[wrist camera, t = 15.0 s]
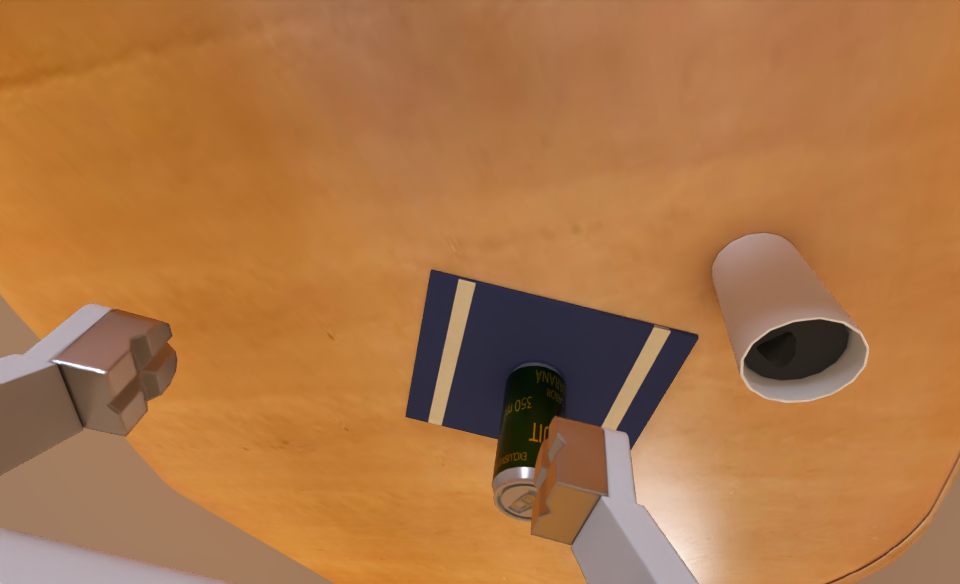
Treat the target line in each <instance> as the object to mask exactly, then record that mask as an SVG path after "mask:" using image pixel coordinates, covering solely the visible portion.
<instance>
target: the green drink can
mask: <svg viewBox="0 0 960 584" xmlns="http://www.w3.org/2000/svg"><path fill="white" fill-rule="evenodd" d="M555 416H557V417H562V418H566V383H565V382H564V380H563V378H562V376H561V375H560V373H559V372H558V371H557V370H556V369H555V368H553V367H551V366H549V365H547V364H544V363H539V362H529V363H525V364H522V365H520V366H518V367H517V368H515V369H514V370H513V372H512V373H511V374H510V375H509V377H508V378H507V381H506V384H505V391H504V399H503V406H502V414H501V421H500V428H499V436H498V443H497V451H496V458H495V465H494V473H493V480H492V488H493V492H494V497H493V499H494V503H495V505H496V506H497V508H498V509H499V510H500V511H501V512H503V513H504V514H505V515H507V516H509V517H512V518H514V519H517V520H522V521H529V522H531V519H532V504H533V501H534V499H535V497H536V495H537V493H538V491H537V489H536V488H535V486H534V473H535V466H536V461H537V457H538V453H539V450H540V447H541V445H542V442H543V440H545V439H547V438H548V433H549V426H550V423H551V421H552V419H553V418H554V417H555Z"/></svg>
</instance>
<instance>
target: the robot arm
mask: <svg viewBox="0 0 960 584" xmlns="http://www.w3.org/2000/svg"><path fill="white" fill-rule="evenodd" d="M171 337H172V333H171V329H170V325H169V324H168V323H165V322H163V321H159V320H155V319H152V318H148V317H144V316H141V315H137V314H133V313H129V312H126V311H122V310H118V309H113V308H110V307H106V306H102V305H98V304H94V303H92V304H89V305H85V306H83V307H82V308H80V309H79V310H78V311H77V312H75V313H74V314H73V315H72V316H70V317H69V318H68V319H67V320H66V321H64V322H63V323H62V324H61V325H59V326H58V327H57V328H56V329H54V330H53V331H52V332H51V333H49V334H48V335H47V336H46V337H44V338H43V339H42V340H41V341H39V342H38V343H37V344H36V345H35V346H33V347H32V348H31V349H30V350H28V351H27V352H26V353H25V354H23V355H18V354H12V355H9V356H6V357H3V358H0V475H2V474H4V473H6V472H8V471H10V470H11V469H13V468H15V467H17V466H19V465H20V464H22V463H24V462H26V461H28V460H29V459H32V458H33V457H35V456H37V455H39V454H41V453H42V452H44V451H46V450H48V449H49V448H52V447H53V446H55V445H57V444H59V443H61V442H62V441H64V440H66V439H68V438H70V437H72V436H73V435H75V434H77V433H79V432H81V431H83V428H87V429H92V430H97V431H101V432H106V433H111V434H116V435H120V436H125V437H126V436H127V435H128V434H129V433H130V431H131V430H132V429H133V428H134V427H135V426H136V424H137V423H138V422H139V421H140V420H141V418H142V417H143V416H144V415H145V414H146V413H147V411H148V406H147V401H149V400H151V399H153V398H155V397H157V396H160V395H162V394H163V392H164V391H165V390H166V389H167V387H168V386H169V385H170V383H171V381H172V379H173V377H174V374H175V372H176V368H177V356H176V351H175V350H174V349H173V348H172V347H171V346H170V345H169V344H168V343H167V341H168V340H169V339H170V338H171ZM534 486H535V488H536V489H537V491H538V493H537V495H536V497H535V499H534V501H533V504H532V519H531V535H535V536H539V537H542V538H546V539H550V540H553V541H557V542H561V543H565V544H568V545H572V546H571V549H572V551H573V553H574V556H575V558H576V560H577V562H578V564H579V566H580V568H581V571H582V573H583V575H584V577H585V579H586V581H587V583H588V584H699V583H698V582H697V580H696V579H695V577H694V576H693V574H692V573H691V572H690V570H689V569H688V567H687V566H686V565H685V563H684V562H683V560H682V559H681V558H680V556H679V555H678V553H677V552H676V550H675V549H674V548H673V546H672V545H671V543H670V542H669V541H668V539H667V538H666V536H665V535H664V534H663V532H662V531H661V529H660V528H659V526H658V525H657V524H656V522H655V521H654V519H653V518H652V517H651V515H650V514H649V512H648V511H647V510H646V508H645V507H644V506H642V505H639V504H637V502H636V493H635V485H634V477H633V468H632V460H631V451H630V443H629V437H628V435H627V433H625V432H621V431H617V430H612V429H608V428H604V427H602V428H601V427H600V426H596V425H592V424H588V423H583V422H579V421H575V420H570V419H566V418H562V417H557V416H555V417H554V418H553V419H552V421H551V423H550V426H549V433H548V438H547V439H545V440H543V442H542V445H541V447H540V450H539V453H538V457H537V461H536V466H535V473H534ZM0 584H236V583H232V582H228V581H224V580H220V579H215V578H211V577H207V576H202V575H199V574H195V573H190V572H186V571H182V570H178V569H174V568H170V567H165V566H161V565H157V564H153V563H149V562H144V561H140V560H136V559H132V558H128V557H124V556H120V555H115V554H111V553H107V552H103V551H99V550H94V549H90V548H86V547H82V546H78V545H74V544H69V543H65V542H61V541H57V540H53V539H49V538H45V537H40V536H36V535H32V534H28V533H24V532H20V531H15V530H11V529H7V528H3V527H0Z"/></svg>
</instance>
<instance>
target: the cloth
mask: <svg viewBox="0 0 960 584" xmlns="http://www.w3.org/2000/svg"><path fill="white" fill-rule="evenodd" d="M697 340H698V335H695V334H691V333H687V332H683V331H679V330H675V329H671V328H667V327H663V326H658V325H654V324H650V323H646V322H642V321H638V320H634V319H630V318H626V317H622V316H618V315H614V314H609V313H605V312H601V311H597V310H593V309H589V308H585V307H581V306H577V305H573V304H569V303H564V302H560V301H556V300H552V299H548V298H544V297H540V296H536V295H532V294H528V293H524V292H520V291H515V290H511V289H507V288H503V287H499V286H495V285H491V284H487V283H483V282H479V281H475V280H471V279H466V278H462V277H458V276H454V275H450V274H446V273H442V272H438V271H434V270H431V273H430V279H429V285H428V291H427V296H426V302H425V308H424V314H423V319H422V325H421V331H420V337H419V342H418V348H417V354H416V360H415V365H414V371H413V377H412V383H411V388H410V394H409V400H408V406H407V411H406V417H408V418H412V419H416V420H421V421H425V422H428V423H432V424H436V425H440V426H445V427H449V428H453V429H458V430H462V431H466V432H470V433H474V434H478V435H482V436H486V437H491V438H495V439H498V436H499V428H500V421H501V414H502V406H503V399H504V391H505V384H506V381H507V378H508V377H509V375H510V374H511V373H512V372H513V370H514V369H515V368H517V367H518V366H520V365H522V364H525V363H529V362H539V363H544V364H547V365H549V366H551V367H553V368H555V369H556V370H557V371H558V372H559V373H560V375H561V376H562V378H563V380H564V382H565V383H566V419H570V420H575V421H579V422H583V423H588V424H592V425H596V426H600V427H601V428H602V427H604V428H608V429H612V430H617V431H621V432H625V433H627V435H628V437H629V443H630V450H631V449H632V447H633V445H634V444H635V442H636V441H637V439H638V437H639V436H640V434H641V432H642V431H643V429H644V427H645V426H646V424H647V422H648V421H649V419H650V417H651V416H652V414H653V413H654V411H655V409H656V408H657V406H658V404H659V403H660V401H661V399H662V398H663V396H664V394H665V393H666V391H667V389H668V388H669V386H670V385H671V383H672V381H673V380H674V378H675V376H676V375H677V373H678V371H679V370H680V368H681V366H682V365H683V363H684V361H685V360H686V358H687V357H688V355H689V353H690V352H691V350H692V348H693V347H694V345H695V343H696V342H697Z"/></svg>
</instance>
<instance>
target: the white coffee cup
mask: <svg viewBox="0 0 960 584" xmlns="http://www.w3.org/2000/svg"><path fill="white" fill-rule="evenodd" d="M712 280H713V284H714V287H715V290H716V294H717V297H718V301H719V304H720V308H721V311H722V314H723V318H724V321H725V325H726V328H727V332H728V335H729V338H730V342H731V345H732V349H733V352H734V355H735V359H736V362H737V366H738V369H739V373H740V376H741V377H742V379H743V381H744V382H745V384H746V385H747V387H748V389H750V390H751V391H753V392H755V393H756V394H758V395H760V396H761V397H763V398H765V399H769V400H774V401H779V402H784V403H792V402H808V401H813V400H816V399H819V398H822V397H826V396H829V395H832V394H834V393H836V392H838V391H839V390H841V389H842V388H844V387H846V386H847V385H849V384H850V383H852V382H853V381H854V380H855V379H856V378H857V376H858V375H859V374H860V373H861V372H862V370H863V369H864V368H865V367H866V364H867V359H868V354H869V349H870V348H869V346H868V344H867V342H866V340H865V337H864V335H863V333H862V332H861V330H860V329H859V328H858V327H857V325H856V324H855V323H854V322H853V320H852V319H851V318H850V317H849V315H848V314H847V313H846V311H845V310H844V309H843V308H842V306H841V305H840V304H839V303H838V301H837V300H836V299H835V297H834V296H833V295H832V294H831V292H830V291H829V290H828V289H827V287H826V286H825V285H824V284H823V282H822V281H821V280H820V278H819V277H818V276H817V275H816V273H815V272H814V271H813V270H812V268H811V267H810V266H809V264H808V263H807V262H806V261H805V259H804V258H803V257H802V256H801V254H800V253H799V252H798V251H797V249H796V248H795V247H794V245H793V244H792V243H790V242H789V241H787V240H786V239H785V238H783V237H782V236H780V235H774V234H769V233H757V234H750V235H745V236H743V237H741V238H739V239H737V240H735V241H732V242H730V243H729V244H728V245H727V246H726V247H725V248H724V249H723V250H722V251H720V252H719V253H718V255H717V257H716V259H715V261H714V263H713V265H712Z"/></svg>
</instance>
